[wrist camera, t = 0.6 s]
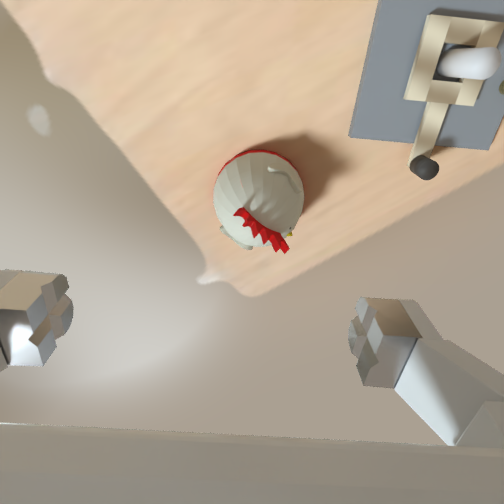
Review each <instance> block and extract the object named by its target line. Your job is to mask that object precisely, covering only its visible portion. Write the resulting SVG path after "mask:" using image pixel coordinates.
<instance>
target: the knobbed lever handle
mask: <svg viewBox="0 0 504 504" xmlns="http://www.w3.org/2000/svg"><path fill="white" fill-rule="evenodd" d="M503 29H504V22H495V21H486V20H477V19H468V18H459V17H450V16H441V15H432V14H431V15H427V18H426V21H425V25H424V28H423V32H422V35H421V38H420V42H419V45H418V49H417V52H416V56H415V59H414V63H413V66H412V70H411V73H410V77H409V80H408V83H407V87H406V90H405V94H404V97H403V99H405V100H414V101H425V102H427V104H426V107H425V110H424V114H423V117H422V120H421V123H420V126H419V129H418V132H417V135H416V138H415V141H414V144H413V148H412V151H411V154H410V157H409V160H408V163H407V166H408V167H410V170H411V171H412V172H413V173H414V174H416V175H417V176H419V177H420V178H421V179H423V180H430V179H432V178H434V177H435V176H436V175H437V173H438V171H439V165H438V163H437V162H435V161H433V160H431V159H430V156H431V153H432V150H433V148H434V145H435V142H436V139H437V136H438V134H439V131H440V128H441V125H442V122H443V119H444V117H445V114H446V111H447V108H448V105H449V104H455V105H465V106H474V104H475V101H476V99H477V96H478V94H479V91H480V88H481V86H482V83H483V81H484V80H478V79H467V78H460V80H459V82H449V81H439V80H432V78H433V75H434V72H435V69H436V66H437V63H438V59H439V56H440V53H441V50H442V47H443V44H444V43H449V44H458V45H467V46H471V48H483V47H495V48H496V47H497V45H498V42H499V40H500V37H501V35H502V32H503Z"/></svg>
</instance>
